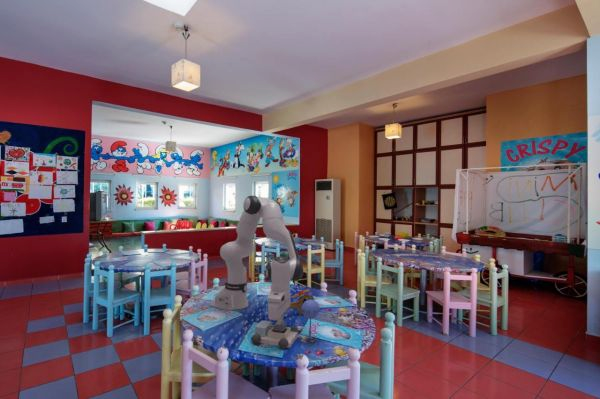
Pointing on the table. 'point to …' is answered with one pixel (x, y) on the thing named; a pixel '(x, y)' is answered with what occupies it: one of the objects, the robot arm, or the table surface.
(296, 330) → the chassis
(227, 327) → the table surface
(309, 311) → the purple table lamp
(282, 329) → the engine block
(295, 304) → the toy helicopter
